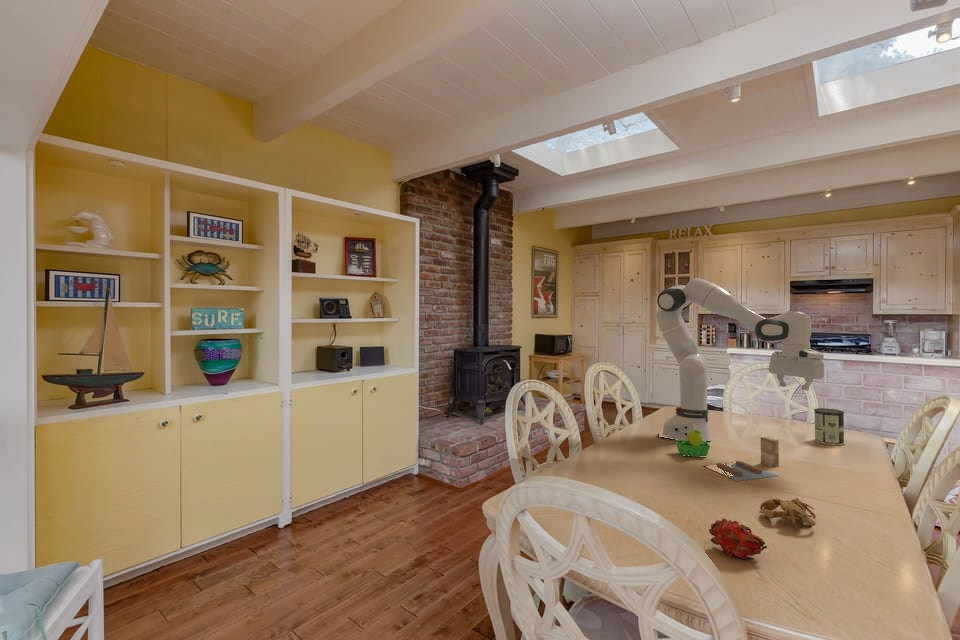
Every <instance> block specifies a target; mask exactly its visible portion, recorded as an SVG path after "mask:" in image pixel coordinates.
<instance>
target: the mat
mask: <svg viewBox="0 0 960 640" xmlns="http://www.w3.org/2000/svg"><path fill="white" fill-rule="evenodd" d="M731 462H732V463H733V462H734V461H731ZM735 462H736V463H734V464H732V465H731V467H732V468H731V467H729V466H727V463H728V462H724V463H725V465H724V464H722V463H723V462H716V463H715V464H716V465H717V467H718V468H720V469H722V470H723V471H724V473H725V474H726V475H727V473H726V472H729V474H730V473H731V474H732V475H733V476H730V477H729V475H727V476H728V477H729V478H728V477H727V476H726V475H725V474H724V473H723V472H722V473H723V474H724V475H725V476H726V478H728V479H730V478H732V479H733V480H732V479H731V480H732V481H734V480H735V481H734V482H742V480H743V481H748V480H751V481H752V480H757V479H758V480H759V479H766V478H774V477H775V478H776V477H779V475H778V474H775V473H772V472H770V471H767V470H765V469H762V468H760V467H757V466H755V465H752V464H750V463H747V462H744V461H742V460H735ZM725 471H726V472H725ZM731 474H730V475H731ZM725 476H724V477H725Z"/></svg>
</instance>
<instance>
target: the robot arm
mask: <svg viewBox="0 0 960 640" xmlns="http://www.w3.org/2000/svg"><path fill="white" fill-rule="evenodd" d="M656 302H657V303H656V304H657V305H658V308H659V309H658V310H657V311H656V313H655V319H656V322H657V325H658V328H659V330H660V332H661V334H662V336H663V339H664V340H665V342H666V344H667V345H668V348H669V349H670V351H671V353H672V354H673V356H674V358H675V359H676V361H677V363H678V365H679V366H678V367H679V371H678V372H679V388H680V389H679V390H680V393H679V394H680V398H679V401H680V402H679V403H680V406H679V405H677V406H676V407H675V415H673V416H672V417H670V418H669V419H667V420H666V421H665V422H664V424H663V426H662V430H663V433H662V434H663V435H665V436H667V437H668V438H673V439H678V440H688V438H687V436H688V434H689V433H690V432H692V431H694V430H698V431H699V432H700V435H701V437H702V441H704V442H706V441H710V440H711V441H712V436H711V434H710V428H709V423H708V422H709V420H710V419H709V416H710V415H709V409H708V388H707V387H708V386H707V385H708V384H707V382H708V379H707V375H708V374H707V373H708V371H707V369H708V368H707V362H706V360H705V357H704V355H703V354H702V352H701V349H699V347H698V345H697V343H696V341H695V340H694V337H693V336H692V334H691V332H690V330H689V328H688V326H687V324H686V323H685V322H686V321H684V318H683V317H682V311H685V310H686V309H687V308H688V307H689V306H691V305H692V304H693V303H694V304H696V305H698V306H700V307H701V308H702V309H704V310H707V311H709V312H710V313H713V314H715V315H719V316H723V317H727V318H731V319H734V320H736V321H738V322H740V323H742V324H743V325H745V326H747V327H749V328H750V329H752V330H753V331H754V333H755V335H756V337H757V338H758V339H759V340H761V341H763V342H766V343H768V344H771V345H772V344H773V345H779V344H781V343H782V344H781V345H782V347H781V351H778V350H777V351H774V352H772V354H771V356H770V360H769V365H768V372H769V373H770V374H774V375H776V378H777V380H778V382H779V384H778V386H779V387H784V388H785V387H787V382H786V381H785V380H784V379H785V376H789V377H796V378H801V379H802V378H804V381H805V382H804V384H802V385H801V390H802V391H810V386H811V385H812V383H813V381H814V380H822V379H823V378H824V376H825V364H824V361H823V359H824V356H825V355H824V353H822V352H819V351H816V350H814V349H811V343H810V341H811V340H810V339H811V336H812V319H811V316H810V315H809V314H808V313H805V312H803V311H800V310H799V311H798V310H787V311H785V312H783V313H781V314H779V315H775V316H773V317H768V318H767V317H764V316H762V315H760V314H758V313H757V312H754V311H753V310H750V309H749V308H747V307H746V306H744V305H743V304H742V303H740V302H739V300H738V299H737V298H736V297H735V296H733V295H732V294H731V293H730V292H729V291H727V290H725V289H724V288H722V287H721V286H719V285H717V284H716V283H713V282H711V281H708V280H706V279H703V278H699V277H695V278H693V279H691V280H689V281H688V282H687V284H684V283H683V284H678V285H673V286H670V287H669V288H666V289H663V290H662V291H660V293H659V294H658V296H657V298H656ZM711 441H710V442H711ZM706 443H707V442H706Z"/></svg>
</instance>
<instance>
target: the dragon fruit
mask: <svg viewBox="0 0 960 640" xmlns="http://www.w3.org/2000/svg"><path fill="white" fill-rule="evenodd" d="M708 531H709V534H710V535H711V536H712V538H711V539H710V541H711V543H712V544H714V545H716V546H720V547H721V548H722V550H723V552H724V551H726V552H725V553H726V554H727V557H732V556H733V555H734V556H736V557H739V558H740V559H743V560H744V561H753V560H755V558H753V556H755V555H761V552H762V551H764V550H765V549H767V548H768V546H767V543H766V542H765V541H764V539H763V538H762V537H760V536H758V535H755V534H754V533H752V530H751V528H750V527H748V526H747V525H744V524H740V523H739V522H738V521H737V520H734V521H732V520H730V519H729V520H728V519H727V518H725V517H722V518H721V519H720V520H716V521H715V522H714V523H711V525H710V528H709V529H708ZM713 536H714V537H713ZM764 545H765V546H764ZM750 556H751V557H750Z"/></svg>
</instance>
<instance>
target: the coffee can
mask: <svg viewBox="0 0 960 640" xmlns="http://www.w3.org/2000/svg"><path fill="white" fill-rule="evenodd" d="M813 411H814V441H815V442H817V443H819V444H822V443H823V444H822V445H827V444H828V445H829V446H844V445H845V433H844V432H845V430H844V429H845V426H844V425H845V422H844V413H845V412H844V411H842V410H840V409H839V410H838V409H834V408H822V407H821V408H820V407H819V408H814V409H813ZM843 444H844V445H843Z"/></svg>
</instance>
